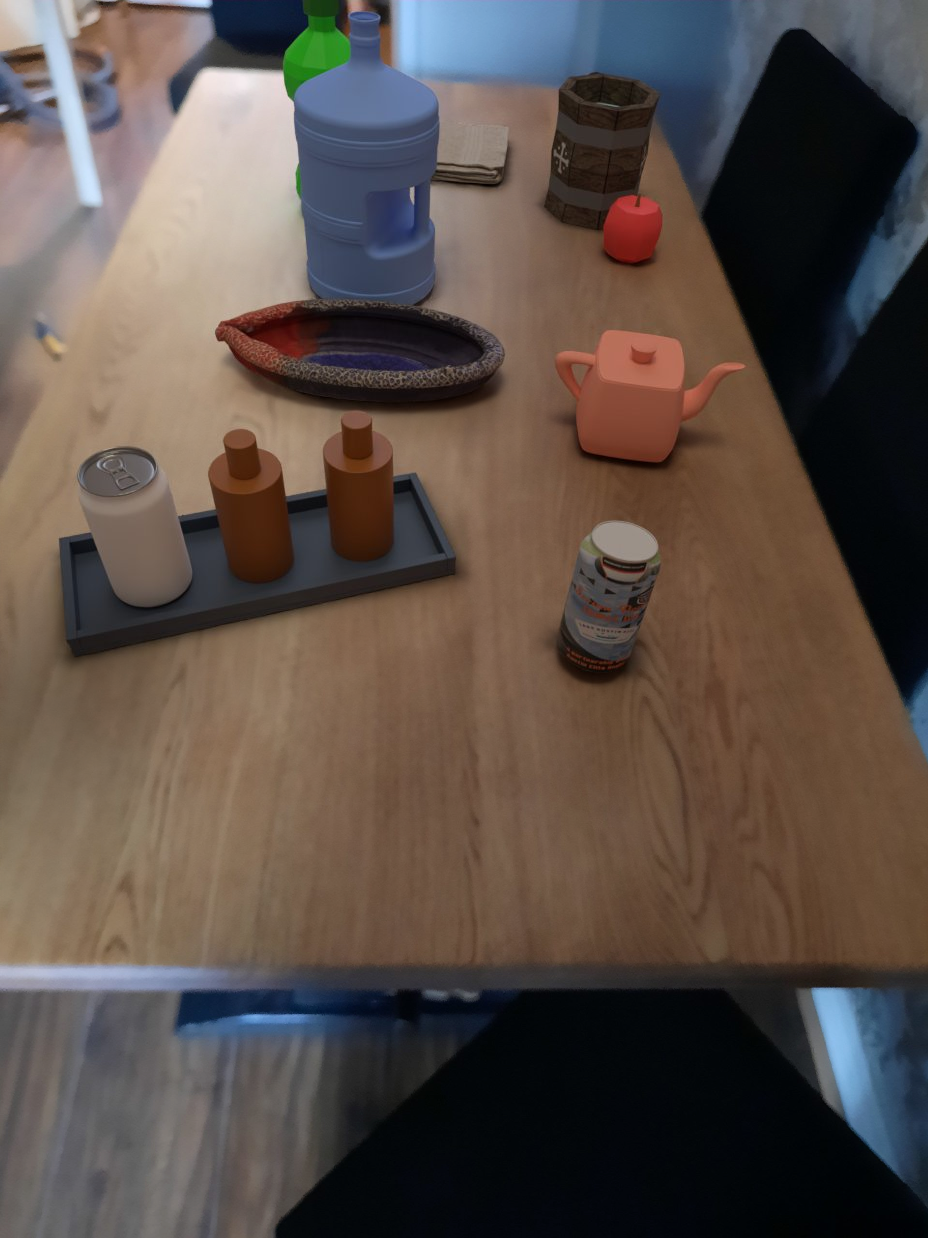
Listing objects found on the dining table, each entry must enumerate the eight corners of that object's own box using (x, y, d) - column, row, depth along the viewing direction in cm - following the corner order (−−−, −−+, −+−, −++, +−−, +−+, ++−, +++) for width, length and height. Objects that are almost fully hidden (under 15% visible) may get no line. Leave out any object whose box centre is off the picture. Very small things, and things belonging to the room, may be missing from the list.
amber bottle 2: (339, 567, 74) (329, 447, 64) (324, 524, 77) (312, 403, 67) (401, 554, 75) (401, 435, 65) (384, 512, 78) (381, 392, 69)
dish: (495, 428, 88) (500, 387, 85) (203, 396, 89) (194, 354, 85) (506, 346, 98) (511, 306, 95) (244, 318, 99) (237, 277, 95)
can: (171, 543, 74) (139, 431, 65) (207, 587, 71) (179, 476, 62) (100, 575, 72) (56, 463, 62) (135, 622, 69) (94, 512, 59)
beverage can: (548, 674, 68) (571, 570, 59) (563, 607, 73) (586, 502, 64) (626, 692, 68) (661, 590, 58) (636, 623, 72) (670, 519, 63)
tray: (74, 657, 67) (66, 640, 65) (66, 555, 74) (58, 537, 72) (455, 573, 75) (456, 556, 73) (415, 488, 82) (416, 471, 80)
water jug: (287, 300, 102) (256, 25, 81) (337, 242, 112) (322, -16, 91) (410, 327, 100) (412, 51, 79) (450, 266, 110) (462, 6, 88)
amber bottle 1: (234, 589, 71) (207, 468, 62) (223, 544, 75) (195, 422, 65) (300, 575, 73) (284, 455, 63) (286, 531, 76) (269, 410, 66)
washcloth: (422, 181, 125) (423, 159, 123) (434, 134, 137) (435, 113, 135) (503, 189, 125) (505, 167, 123) (508, 140, 137) (510, 119, 135)
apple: (638, 276, 111) (651, 214, 105) (586, 255, 114) (596, 193, 108) (667, 254, 115) (682, 193, 109) (616, 234, 118) (628, 174, 112)
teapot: (550, 389, 93) (564, 301, 85) (715, 412, 92) (745, 325, 84) (540, 455, 86) (554, 364, 78) (719, 481, 85) (752, 392, 77)
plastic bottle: (362, 232, 114) (354, 10, 95) (285, 222, 115) (262, -1, 96) (378, 199, 121) (374, -14, 102) (306, 190, 122) (288, -24, 102)
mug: (645, 230, 119) (671, 113, 108) (549, 227, 118) (565, 108, 107) (621, 171, 132) (642, 59, 120) (534, 167, 131) (547, 55, 119)
